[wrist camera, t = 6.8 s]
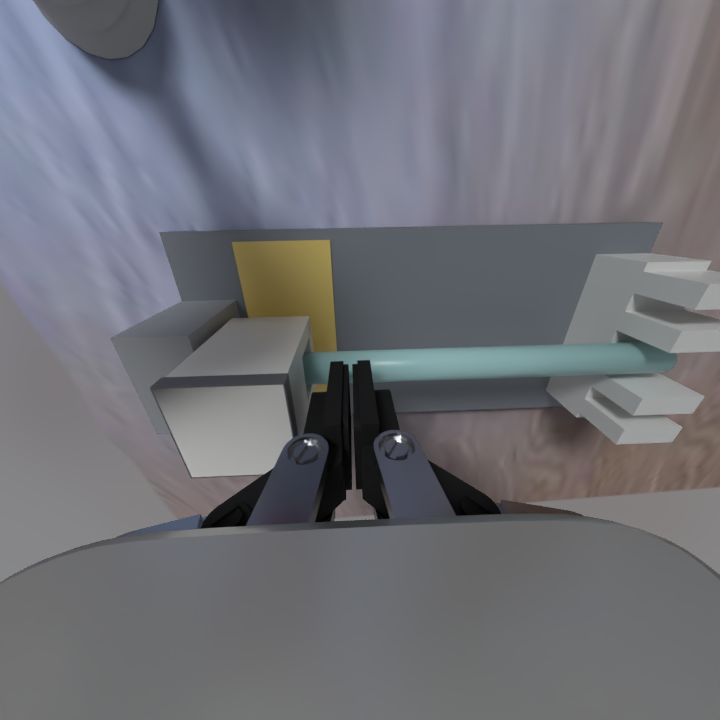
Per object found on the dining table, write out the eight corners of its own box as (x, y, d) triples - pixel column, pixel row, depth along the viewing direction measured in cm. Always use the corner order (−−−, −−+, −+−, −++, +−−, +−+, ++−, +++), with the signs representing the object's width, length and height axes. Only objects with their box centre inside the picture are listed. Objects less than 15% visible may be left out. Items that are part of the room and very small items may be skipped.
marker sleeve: (310, 315, 14) (284, 383, 8) (317, 381, 16) (300, 473, 10) (231, 317, 14) (149, 387, 8) (247, 383, 16) (190, 478, 10)
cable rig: (648, 222, 15) (826, 226, 9) (571, 399, 21) (654, 467, 15) (168, 231, 14) (53, 241, 9) (225, 411, 20) (178, 487, 14)
